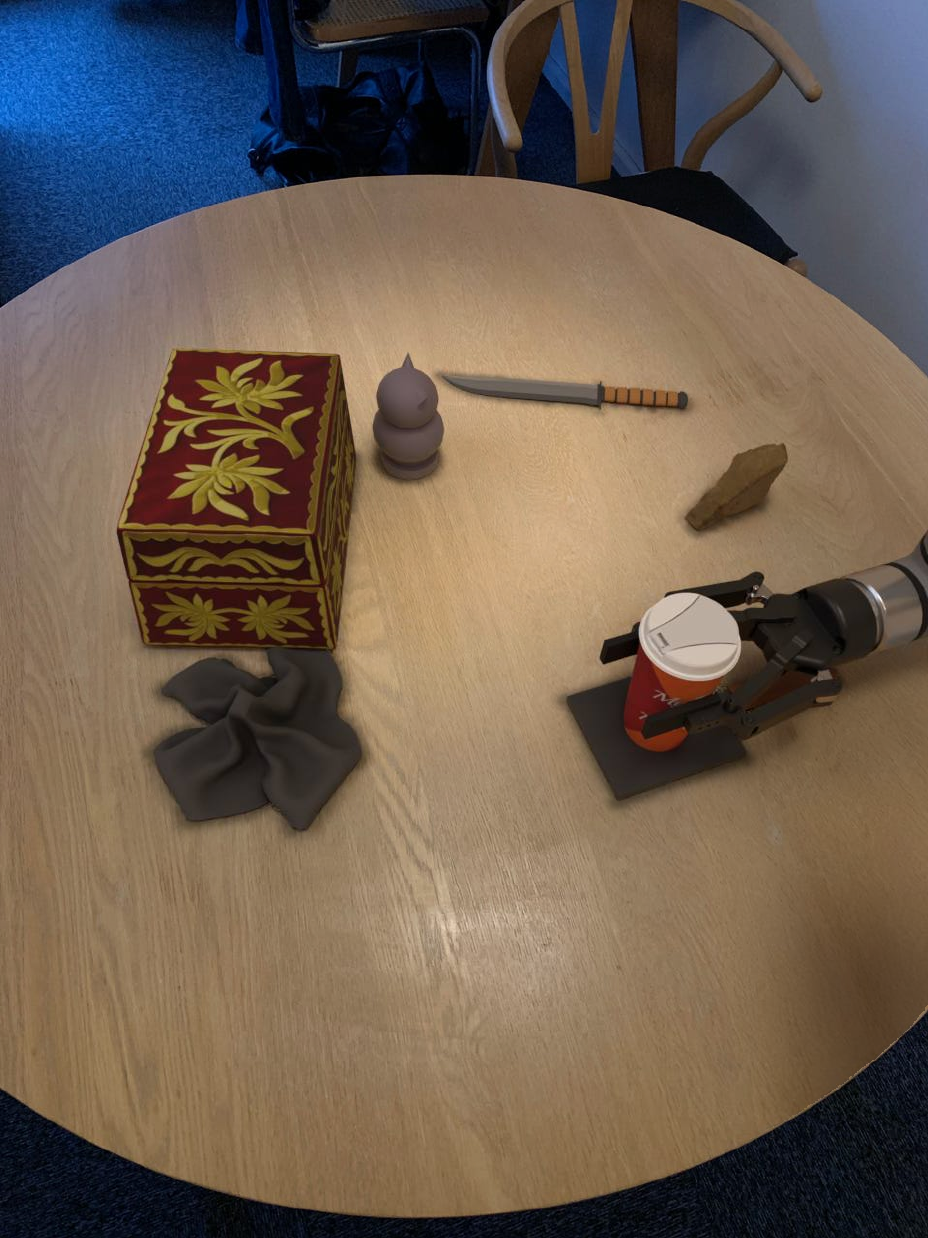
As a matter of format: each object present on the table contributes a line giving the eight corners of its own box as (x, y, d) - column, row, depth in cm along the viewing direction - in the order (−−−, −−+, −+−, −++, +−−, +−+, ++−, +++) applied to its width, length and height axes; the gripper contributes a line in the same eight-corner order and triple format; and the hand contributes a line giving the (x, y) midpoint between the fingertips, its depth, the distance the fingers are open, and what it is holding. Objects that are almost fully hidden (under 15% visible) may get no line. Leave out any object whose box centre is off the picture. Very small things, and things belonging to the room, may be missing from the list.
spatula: (860, 716, 88) (865, 709, 88) (617, 801, 82) (620, 794, 81) (796, 628, 94) (800, 620, 94) (565, 700, 88) (567, 693, 87)
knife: (438, 392, 113) (442, 365, 116) (438, 400, 114) (442, 372, 117) (689, 411, 112) (688, 383, 114) (687, 419, 113) (685, 391, 116)
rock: (699, 538, 98) (793, 523, 98) (693, 457, 96) (789, 442, 96) (673, 519, 109) (758, 506, 108) (667, 445, 106) (754, 432, 106)
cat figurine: (365, 441, 108) (360, 355, 99) (430, 428, 110) (432, 343, 100) (385, 492, 103) (382, 407, 94) (452, 478, 105) (456, 394, 96)
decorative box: (337, 651, 90) (325, 545, 78) (142, 646, 89) (100, 539, 77) (357, 455, 107) (349, 345, 95) (193, 450, 106) (165, 338, 94)
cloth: (362, 829, 80) (358, 797, 75) (139, 840, 78) (120, 807, 73) (361, 620, 93) (358, 581, 88) (171, 625, 91) (157, 586, 87)
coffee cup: (639, 776, 83) (677, 684, 71) (594, 703, 87) (623, 605, 75) (718, 744, 85) (768, 650, 73) (670, 674, 89) (710, 574, 77)
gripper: (903, 730, 81) (671, 813, 76) (778, 562, 92) (568, 624, 87) (941, 683, 75) (693, 769, 70) (803, 510, 86) (579, 573, 81)
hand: (624, 689), depth 78 cm, fingers closed on coffee cup, 7 cm apart
